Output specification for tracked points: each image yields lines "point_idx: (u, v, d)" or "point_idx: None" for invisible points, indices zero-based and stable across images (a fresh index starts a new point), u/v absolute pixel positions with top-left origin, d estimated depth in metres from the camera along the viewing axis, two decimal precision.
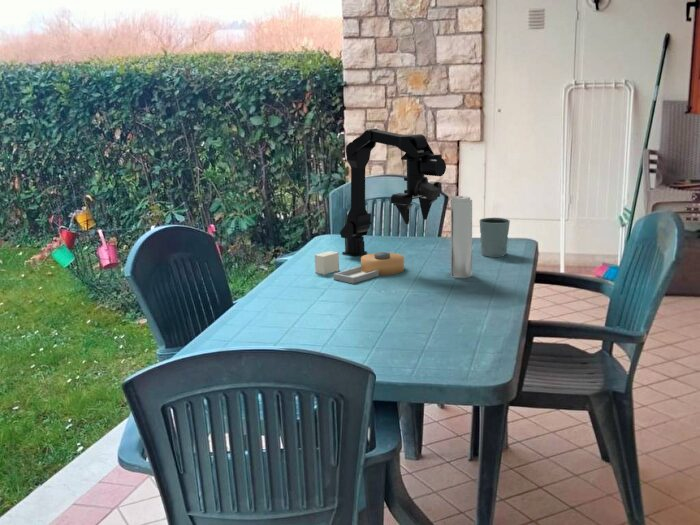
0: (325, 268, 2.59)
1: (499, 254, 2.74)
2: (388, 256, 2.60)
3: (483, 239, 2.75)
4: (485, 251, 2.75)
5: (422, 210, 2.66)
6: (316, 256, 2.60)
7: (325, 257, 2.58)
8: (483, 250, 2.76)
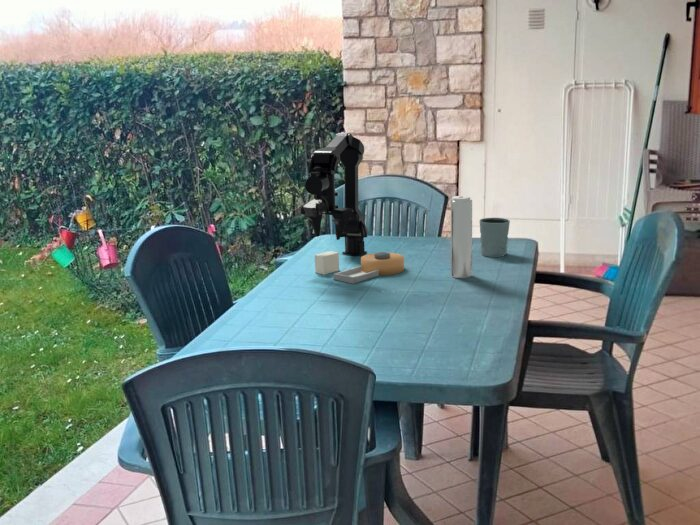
0: (325, 268, 2.59)
1: (499, 254, 2.74)
2: (388, 256, 2.60)
3: (483, 239, 2.75)
4: (485, 251, 2.75)
5: None
6: (316, 256, 2.60)
7: (325, 257, 2.58)
8: (483, 250, 2.76)
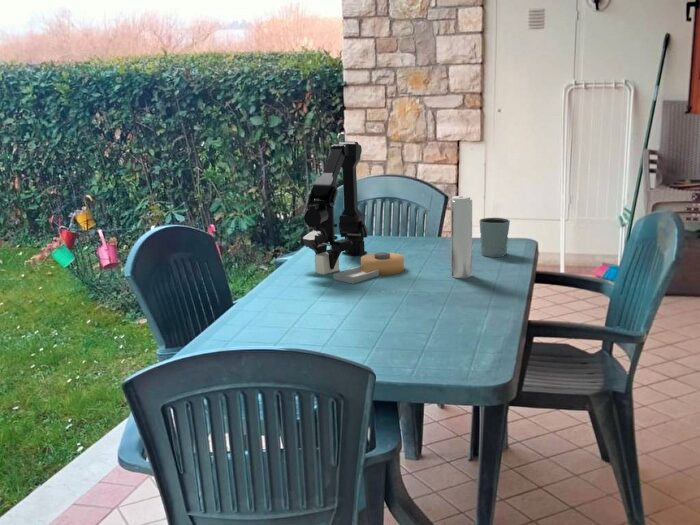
0: (325, 267, 2.59)
1: (499, 254, 2.74)
2: (388, 256, 2.60)
3: (483, 239, 2.75)
4: (485, 251, 2.75)
5: None
6: (316, 256, 2.60)
7: (325, 257, 2.58)
8: (483, 250, 2.76)
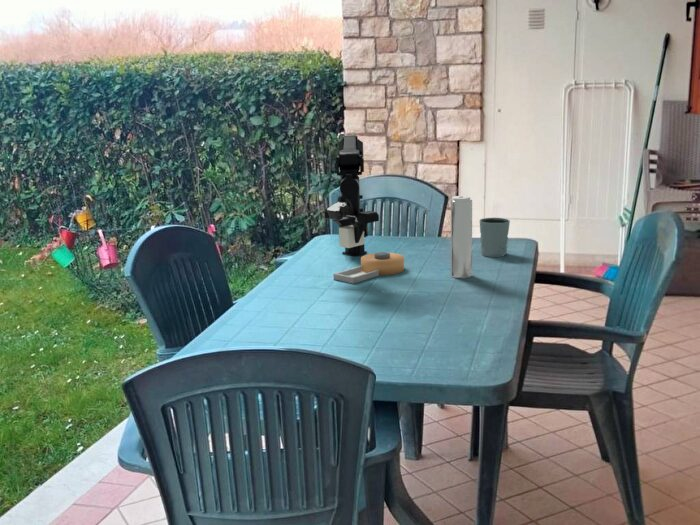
0: (350, 241, 2.48)
1: (499, 254, 2.74)
2: (388, 256, 2.60)
3: (483, 239, 2.75)
4: (485, 251, 2.75)
5: None
6: (340, 229, 2.49)
7: (350, 229, 2.48)
8: (483, 250, 2.76)
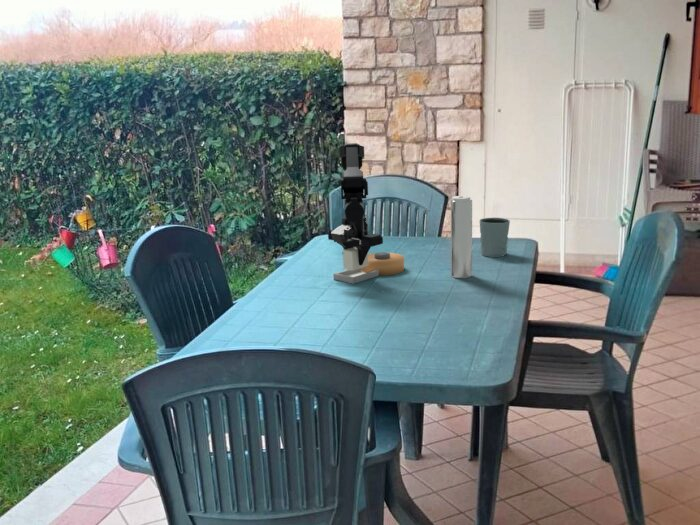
0: (354, 263, 2.50)
1: (499, 254, 2.74)
2: (388, 256, 2.60)
3: (483, 239, 2.75)
4: (485, 251, 2.75)
5: None
6: (344, 251, 2.50)
7: (354, 252, 2.49)
8: (483, 250, 2.76)
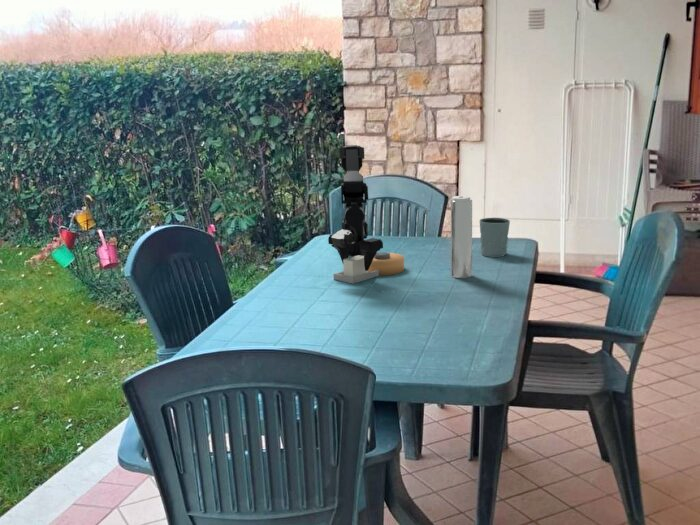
0: (354, 273, 2.50)
1: (499, 254, 2.74)
2: (388, 256, 2.60)
3: (483, 239, 2.75)
4: (485, 251, 2.75)
5: None
6: (345, 261, 2.51)
7: (354, 262, 2.50)
8: (483, 250, 2.76)
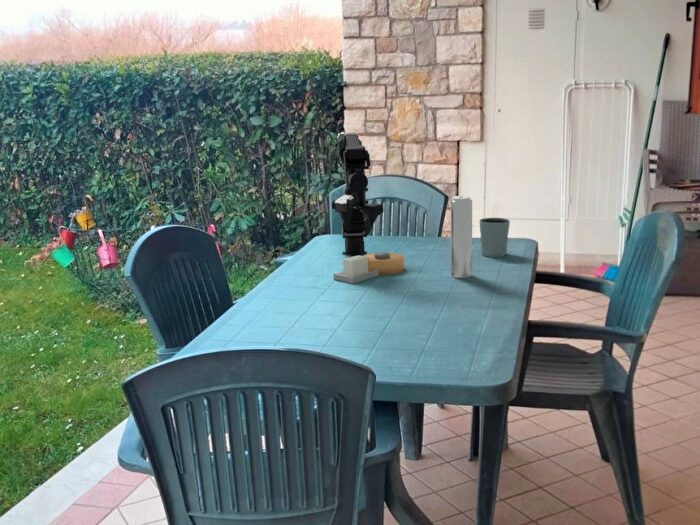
0: (354, 273, 2.50)
1: (499, 254, 2.74)
2: (388, 256, 2.60)
3: (483, 239, 2.75)
4: (485, 251, 2.75)
5: None
6: (345, 261, 2.51)
7: (354, 262, 2.50)
8: (483, 250, 2.76)
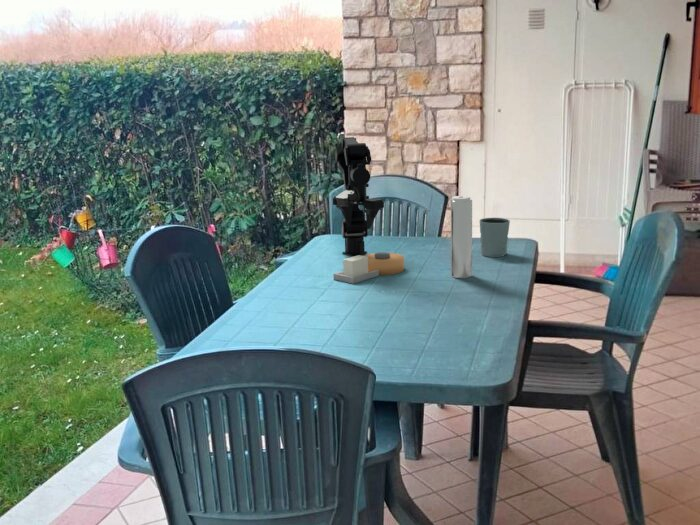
0: (354, 273, 2.50)
1: (499, 254, 2.74)
2: (388, 256, 2.60)
3: (483, 239, 2.75)
4: (485, 251, 2.75)
5: None
6: (345, 261, 2.51)
7: (354, 262, 2.50)
8: (483, 250, 2.76)
